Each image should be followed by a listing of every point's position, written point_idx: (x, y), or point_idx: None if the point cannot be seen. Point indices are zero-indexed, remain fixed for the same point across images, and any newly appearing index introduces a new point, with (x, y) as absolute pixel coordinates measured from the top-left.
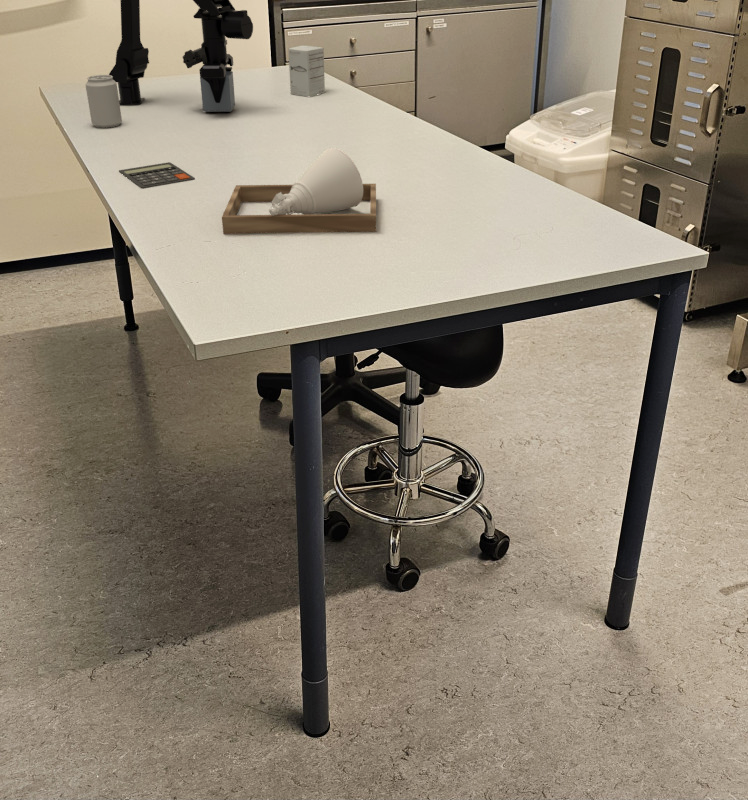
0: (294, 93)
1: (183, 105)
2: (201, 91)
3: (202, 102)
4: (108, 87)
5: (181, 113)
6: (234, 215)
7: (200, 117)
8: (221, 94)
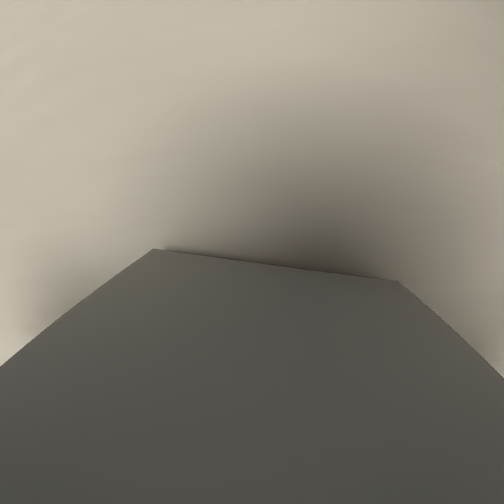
0: None
1: (497, 100)
2: (53, 325)
3: (121, 273)
4: None
5: (239, 59)
6: None
7: (77, 224)
8: None
